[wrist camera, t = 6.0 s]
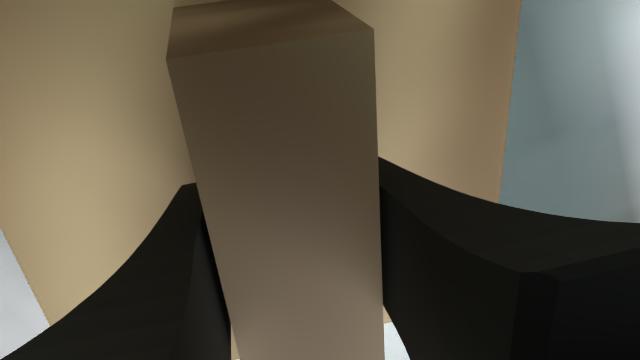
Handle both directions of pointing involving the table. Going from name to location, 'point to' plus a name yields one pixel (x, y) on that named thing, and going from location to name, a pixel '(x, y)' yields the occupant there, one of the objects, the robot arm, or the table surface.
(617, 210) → the table surface
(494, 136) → the oak lid
